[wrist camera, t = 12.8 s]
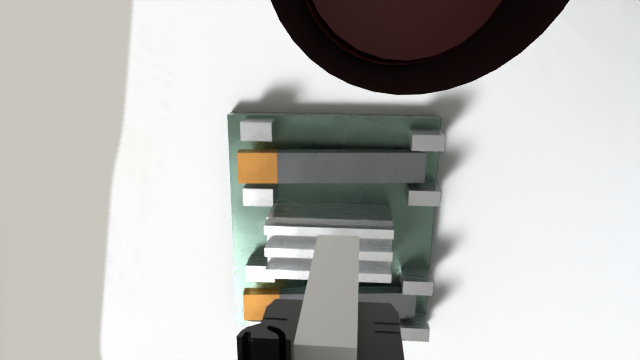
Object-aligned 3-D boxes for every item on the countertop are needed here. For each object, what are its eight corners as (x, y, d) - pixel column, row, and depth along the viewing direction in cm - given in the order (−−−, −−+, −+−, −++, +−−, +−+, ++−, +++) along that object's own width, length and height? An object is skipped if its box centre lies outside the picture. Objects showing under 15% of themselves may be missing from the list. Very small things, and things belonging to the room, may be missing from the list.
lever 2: (413, 286, 35) (416, 293, 35) (411, 310, 36) (414, 318, 35) (244, 287, 35) (242, 294, 34) (245, 312, 36) (243, 320, 35)
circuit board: (438, 116, 33) (452, 130, 28) (422, 326, 38) (432, 368, 33) (231, 112, 34) (210, 125, 29) (240, 317, 39) (223, 358, 34)
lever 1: (423, 149, 33) (426, 152, 32) (420, 178, 33) (424, 182, 32) (238, 149, 32) (236, 152, 31) (240, 178, 33) (238, 183, 32)
